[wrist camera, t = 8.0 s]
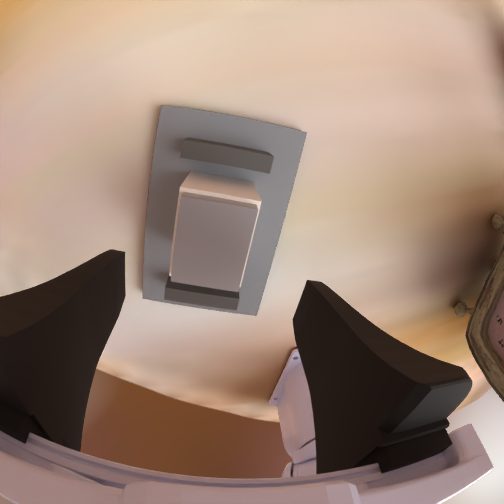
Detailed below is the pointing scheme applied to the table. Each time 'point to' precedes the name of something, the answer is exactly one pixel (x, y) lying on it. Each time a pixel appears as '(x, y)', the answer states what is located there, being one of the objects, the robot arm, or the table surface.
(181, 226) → the connector plug
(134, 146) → the table surface
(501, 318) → the tabletop clock
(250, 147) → the board
